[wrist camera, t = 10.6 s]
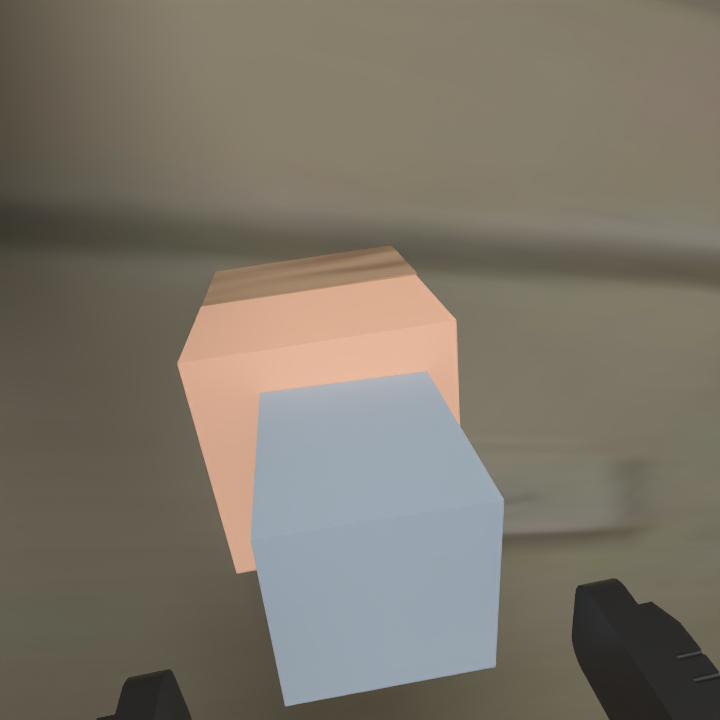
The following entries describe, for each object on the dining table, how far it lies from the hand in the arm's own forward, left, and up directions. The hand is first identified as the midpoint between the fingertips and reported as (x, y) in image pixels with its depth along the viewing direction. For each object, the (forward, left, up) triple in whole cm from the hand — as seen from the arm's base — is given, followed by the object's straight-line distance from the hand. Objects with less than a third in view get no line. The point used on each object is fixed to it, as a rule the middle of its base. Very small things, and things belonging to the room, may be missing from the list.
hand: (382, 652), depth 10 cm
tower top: (0, 0, -12) cm, 12 cm away
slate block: (0, 0, -7) cm, 7 cm away
